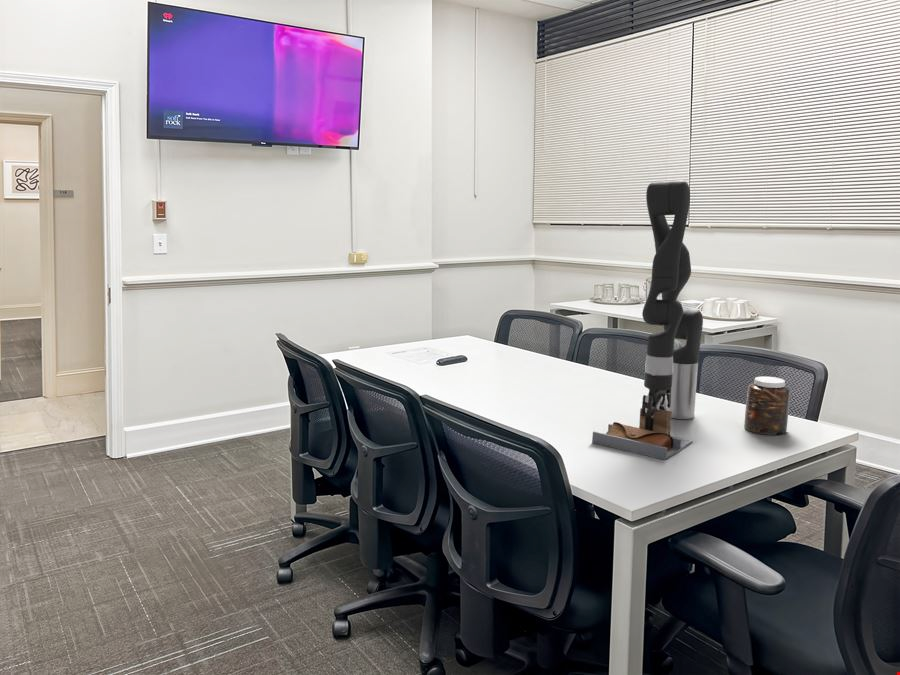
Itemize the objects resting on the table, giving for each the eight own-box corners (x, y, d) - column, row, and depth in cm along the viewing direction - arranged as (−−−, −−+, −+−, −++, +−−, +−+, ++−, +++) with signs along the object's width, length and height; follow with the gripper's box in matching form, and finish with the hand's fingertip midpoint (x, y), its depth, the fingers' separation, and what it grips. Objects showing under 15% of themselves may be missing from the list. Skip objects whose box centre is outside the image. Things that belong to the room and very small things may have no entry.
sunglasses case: (597, 439, 202) (604, 416, 204) (607, 446, 208) (614, 424, 209) (660, 454, 191) (667, 429, 193) (669, 461, 196) (675, 437, 198)
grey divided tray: (622, 427, 217) (623, 402, 216) (692, 442, 204) (694, 416, 203) (592, 442, 203) (593, 416, 201) (665, 459, 190) (667, 431, 189)
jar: (794, 436, 211) (799, 384, 209) (753, 435, 211) (758, 384, 208) (776, 423, 223) (780, 375, 220) (737, 423, 223) (741, 374, 220)
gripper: (656, 364, 214) (653, 419, 217) (635, 373, 203) (631, 430, 206) (681, 368, 209) (678, 424, 212) (661, 377, 198) (657, 435, 201)
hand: (655, 427), depth 209 cm, fingers open, 8 cm apart
